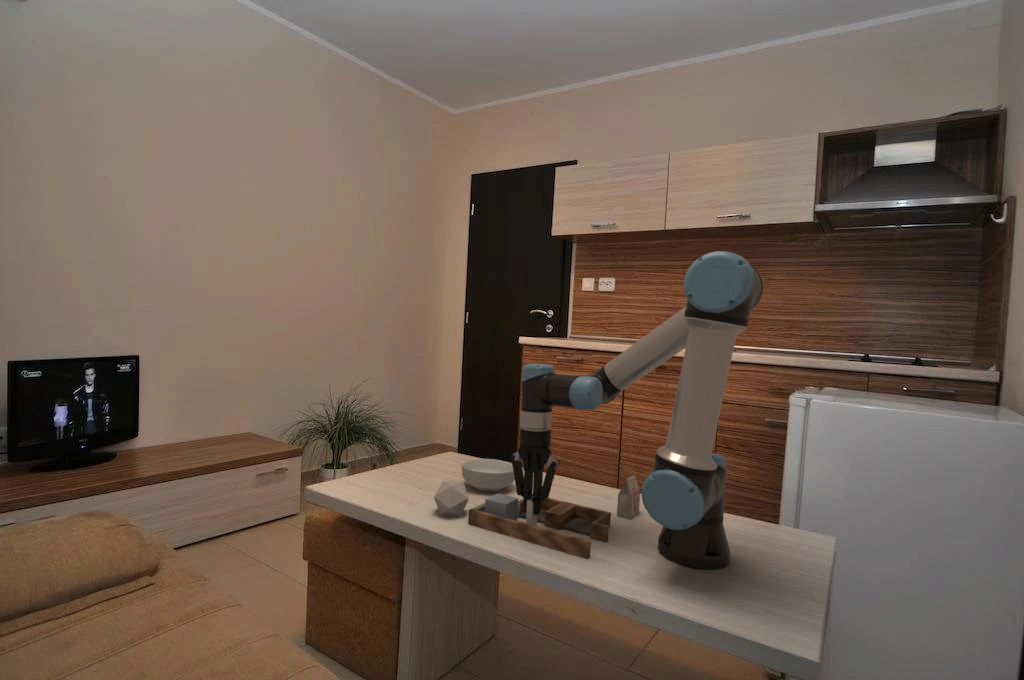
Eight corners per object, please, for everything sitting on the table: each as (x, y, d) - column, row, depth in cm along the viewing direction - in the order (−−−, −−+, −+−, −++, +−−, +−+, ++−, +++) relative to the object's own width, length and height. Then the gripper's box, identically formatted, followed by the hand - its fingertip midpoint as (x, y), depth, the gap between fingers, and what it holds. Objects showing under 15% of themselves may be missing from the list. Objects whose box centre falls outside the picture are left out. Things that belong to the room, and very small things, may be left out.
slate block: (517, 522, 126) (518, 498, 126) (504, 529, 121) (506, 504, 121) (496, 516, 130) (498, 493, 130) (483, 523, 124) (485, 499, 124)
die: (452, 525, 123) (476, 490, 126) (423, 503, 125) (448, 469, 128) (455, 525, 131) (477, 492, 134) (427, 505, 133) (450, 473, 136)
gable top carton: (616, 516, 135) (618, 479, 135) (626, 510, 140) (628, 474, 140) (630, 519, 133) (632, 481, 133) (639, 513, 138) (641, 476, 138)
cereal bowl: (495, 500, 142) (497, 475, 142) (449, 488, 151) (450, 465, 151) (525, 487, 157) (527, 464, 157) (481, 477, 165) (483, 455, 165)
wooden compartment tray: (621, 528, 125) (621, 514, 125) (587, 559, 107) (588, 542, 107) (513, 502, 141) (514, 489, 141) (468, 524, 123) (468, 509, 123)
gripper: (566, 429, 121) (562, 528, 121) (519, 423, 128) (515, 516, 128) (553, 434, 115) (548, 538, 114) (504, 427, 121) (499, 525, 121)
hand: (531, 526), depth 121 cm, fingers closed
